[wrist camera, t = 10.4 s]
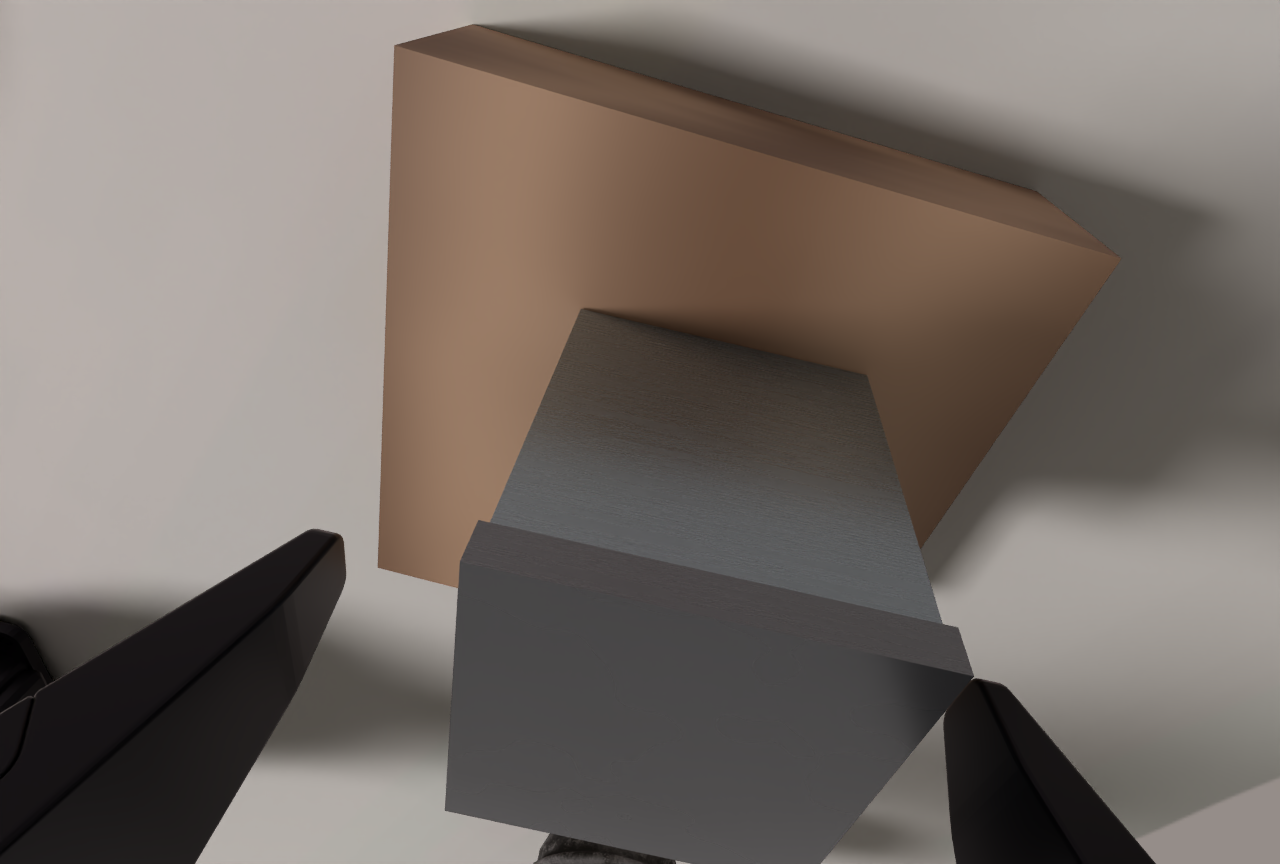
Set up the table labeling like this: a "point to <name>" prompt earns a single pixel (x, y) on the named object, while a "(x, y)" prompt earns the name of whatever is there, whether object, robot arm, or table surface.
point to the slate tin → (695, 608)
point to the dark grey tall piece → (590, 853)
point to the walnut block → (684, 269)
